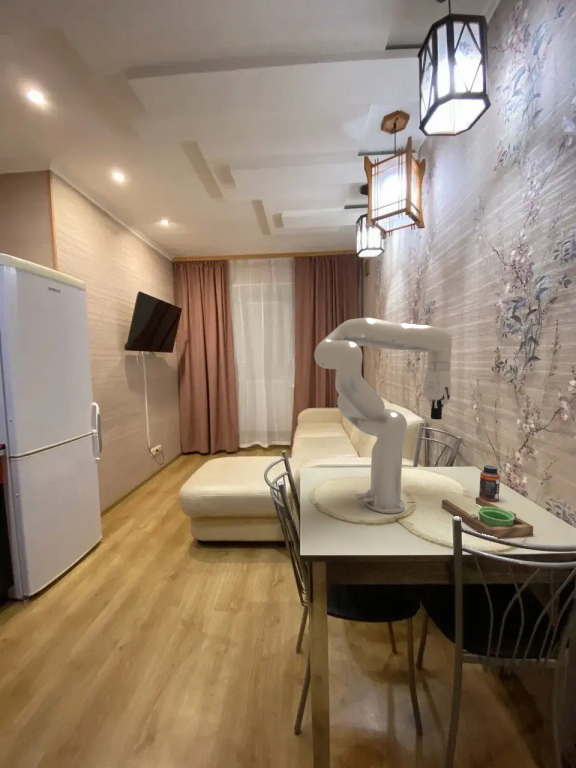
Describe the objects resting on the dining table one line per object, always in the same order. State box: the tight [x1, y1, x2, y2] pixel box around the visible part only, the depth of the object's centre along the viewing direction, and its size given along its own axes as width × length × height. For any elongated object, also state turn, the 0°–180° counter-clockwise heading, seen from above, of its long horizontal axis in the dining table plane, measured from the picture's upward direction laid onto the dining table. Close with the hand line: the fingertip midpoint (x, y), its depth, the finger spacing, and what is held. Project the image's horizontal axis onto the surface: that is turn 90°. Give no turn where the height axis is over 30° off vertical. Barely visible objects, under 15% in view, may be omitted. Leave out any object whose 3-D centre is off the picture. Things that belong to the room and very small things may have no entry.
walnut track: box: [441, 496, 534, 539], centre depth 106 cm, size 14×20×3 cm
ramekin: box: [477, 507, 514, 527], centre depth 102 cm, size 9×9×4 cm
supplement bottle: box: [478, 464, 501, 502], centre depth 123 cm, size 6×6×11 cm
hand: (436, 418), depth 125 cm, fingers closed
